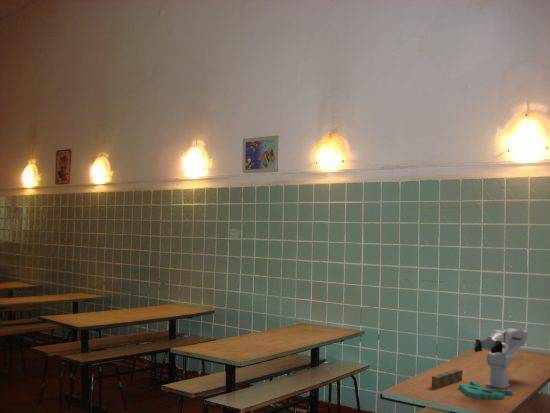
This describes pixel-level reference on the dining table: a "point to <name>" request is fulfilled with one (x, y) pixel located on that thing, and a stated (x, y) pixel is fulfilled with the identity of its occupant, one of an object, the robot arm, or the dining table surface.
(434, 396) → the dining table surface
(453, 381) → the walnut board
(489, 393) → the alien figure
